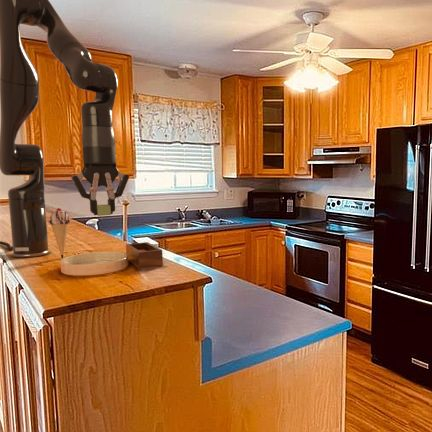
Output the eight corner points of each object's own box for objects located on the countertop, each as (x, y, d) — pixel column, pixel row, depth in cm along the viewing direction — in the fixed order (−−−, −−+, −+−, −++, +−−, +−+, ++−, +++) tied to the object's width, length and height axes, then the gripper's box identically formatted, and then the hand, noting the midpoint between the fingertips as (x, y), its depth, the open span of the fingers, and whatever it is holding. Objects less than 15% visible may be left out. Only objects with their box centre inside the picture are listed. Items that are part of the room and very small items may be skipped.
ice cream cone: (78, 258, 124) (74, 207, 122) (61, 262, 118) (58, 209, 117) (62, 257, 126) (59, 206, 124) (46, 261, 120) (42, 208, 118)
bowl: (57, 267, 114) (56, 256, 113) (120, 259, 123) (120, 249, 122) (65, 280, 100) (64, 268, 100) (135, 270, 109) (134, 259, 109)
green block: (95, 214, 109) (94, 204, 108) (107, 213, 110) (107, 204, 110) (98, 215, 105) (97, 206, 105) (111, 215, 107) (110, 205, 107)
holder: (126, 260, 120) (125, 244, 120) (148, 258, 124) (147, 242, 123) (139, 270, 109) (138, 252, 109) (163, 267, 113) (162, 249, 112)
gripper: (124, 146, 113) (128, 211, 115) (65, 145, 105) (70, 214, 107) (131, 145, 106) (135, 213, 108) (69, 144, 99) (74, 218, 101)
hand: (103, 214), depth 108 cm, fingers closed on green block, 3 cm apart
